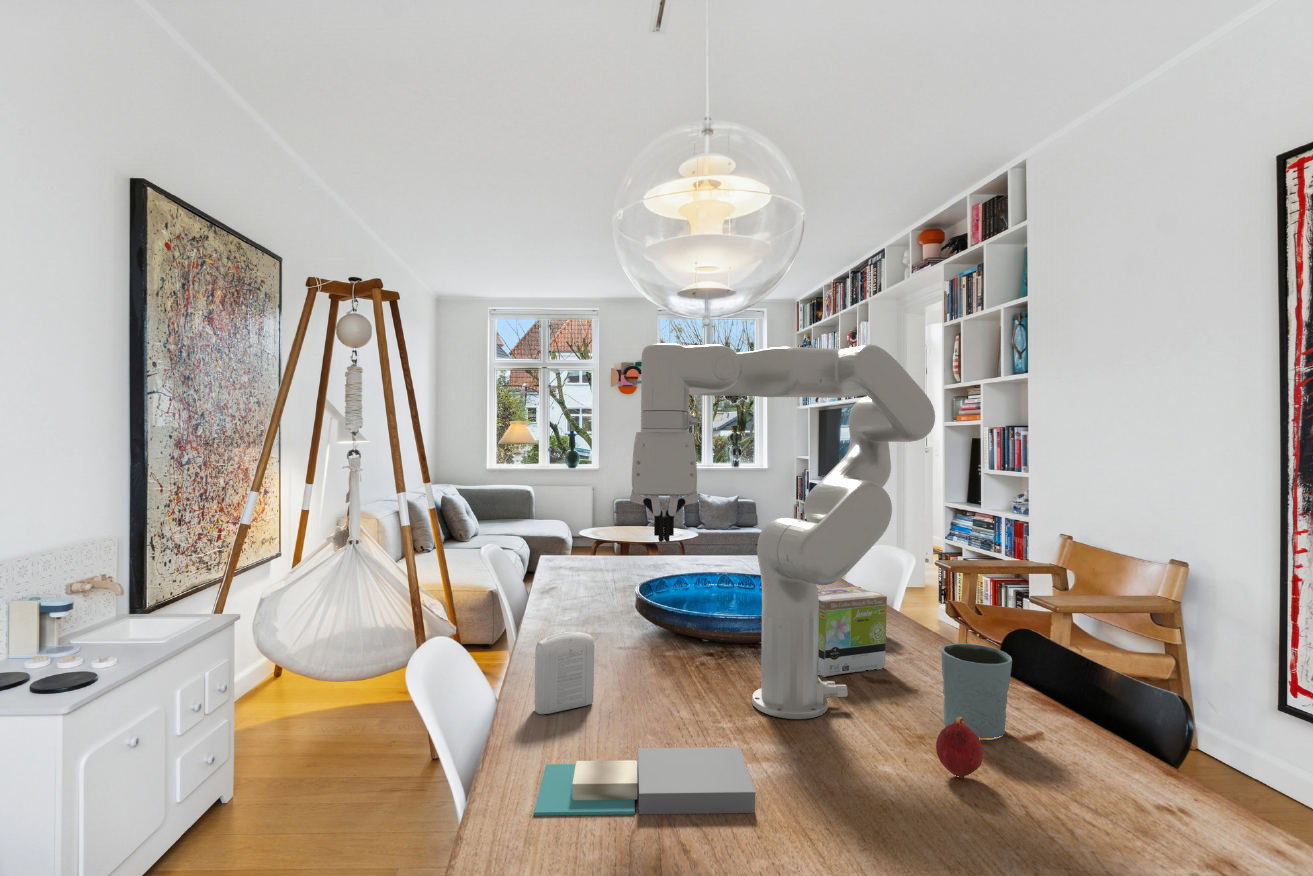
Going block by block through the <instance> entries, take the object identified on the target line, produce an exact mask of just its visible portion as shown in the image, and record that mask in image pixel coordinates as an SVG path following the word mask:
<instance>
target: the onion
mask: <svg viewBox="0 0 1313 876" xmlns="http://www.w3.org/2000/svg"><path fill="white" fill-rule="evenodd" d="M935 742H936V743H935V750H936V752H935V753H936V755H937V757H938V760H939V762H940V764H941V765H942V766H943V767H944V768H945V769H946V770H947V771H948V772H949V773H951V774H952V775H953V776H955V775H956V776H959V777H963V778H964V776H965V777H966V776H968V775H971V774H973V773H974V772H975V771H977V770H978V769H979V768H980V767H981V765H982V764H983V763H982V762H983V759H984V747H983V745H982V742H981V740H979V738H978V737H977V735H976V734H975V733H974V731H973V730H972V729H970V728H969V727H968V726H966V725H965V719H963V718H962V717H961V716H960V717H956V720H955V721H954V723H953V724H951V725H948V726H945V727H943V729H942V730H941V731H940V733H939V734H938V736H937V738H936V741H935ZM956 776H955V777H956Z"/></svg>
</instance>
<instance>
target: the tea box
mask: <svg viewBox="0 0 1313 876" xmlns="http://www.w3.org/2000/svg"><path fill="white" fill-rule="evenodd" d="M858 587H859V586H858ZM858 587H856V586H847V587H831V588H820V589H817V591H818V597H819V669H818V676H820V677H823V678H826V677H831V676H836V675H842V674H843V675H844V674H849V673H857V672H867V671H866V670H868V671H875V670H874V669H877V670H880V669H879V668H884V669H885V668H886V647H887V646H886V645H887V616H888V615H887V612H888V611H887V608H888V607H887V606H888V603H887V601H888V597H887V596H886V595H884V594H882V595H880V594H881V593H880V594H877V593H878V592H877V593H874V592H875V591H872V592H871V590H867V589H865V588H858Z"/></svg>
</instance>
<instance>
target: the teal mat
mask: <svg viewBox="0 0 1313 876" xmlns="http://www.w3.org/2000/svg"><path fill="white" fill-rule="evenodd" d="M575 766H576V763H555V764H554V763H552V764H551V763H547V764H545V768H544V770H543V775H542V780H541V783H540V787H539V791H538V795H537V799H536V803H535V807H534V811H533V816H537V817H538V816H539V817H541V816H543V817H544V816H545V817H546V816H550V817H551V816H552V817H553V816H603V815H604V816H607V815H608V816H609V815H612V816H615V815H616V816H617V815H618V816H619V815H622V816H623V815H627V816H628V815H635V814H636V811H635V810H636V808H635V807H636V806H635V805H636V804H635V801H636V799H633V800H572V784H573V778H574V772H575Z"/></svg>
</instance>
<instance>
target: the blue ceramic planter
mask: <svg viewBox="0 0 1313 876" xmlns="http://www.w3.org/2000/svg"><path fill="white" fill-rule="evenodd" d="M940 653H941V655H940V656H941V672H942V680H943V683H942V684H943V688H942V693H943V697H944V698H943V723H944V726H945V725H946V726H948V725H951V724H953V723H954V721H955V720H956V717H960V716H961V717H962V718H963V719H965V725H966V726H968V727H969V728H970V729H972V730H973V731H974V733H975V734H976V735H977V737H978V738H979V737H980V738H994V737H999V736H1002V735H1003V734H1004V735H1005V733H1006V732H1005V730H1006V721H1007V714H1006V713H1007V704H1008V693H1009V690H1010V689H1009V688H1010V683H1011V682H1010V679H1011V675H1012V667H1013V666H1012V664H1013V659H1012V656H1011V655H1009V654H1008V653H1007V652H1006V651H1003V650H1000V649H997V648H995V647H991V646H986V645H981V644H974V643H965V642H963V643H961V642H958V643H949V644H945V645H943V646H942V647H941V649H940ZM946 726H945V727H946Z"/></svg>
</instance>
